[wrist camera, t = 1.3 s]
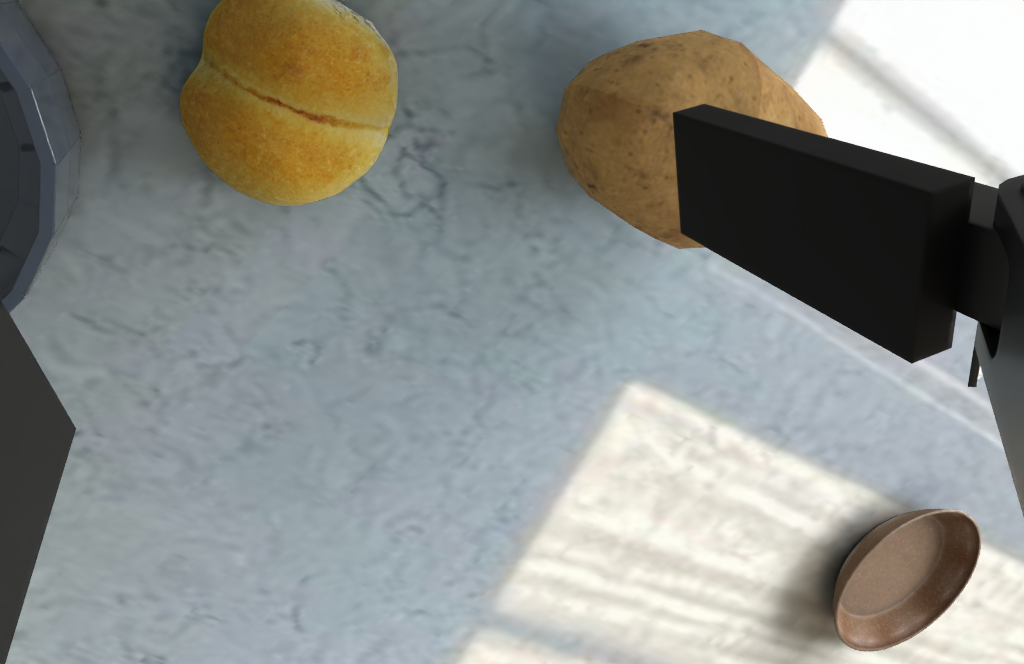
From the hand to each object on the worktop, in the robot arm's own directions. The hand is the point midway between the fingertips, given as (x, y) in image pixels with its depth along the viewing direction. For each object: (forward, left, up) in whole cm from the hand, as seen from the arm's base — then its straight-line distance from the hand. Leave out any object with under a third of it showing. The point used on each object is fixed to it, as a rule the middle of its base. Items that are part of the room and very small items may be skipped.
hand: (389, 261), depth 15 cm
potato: (-12, +13, -21) cm, 28 cm away
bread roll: (0, 0, -21) cm, 21 cm away
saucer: (-9, +60, -21) cm, 64 cm away
